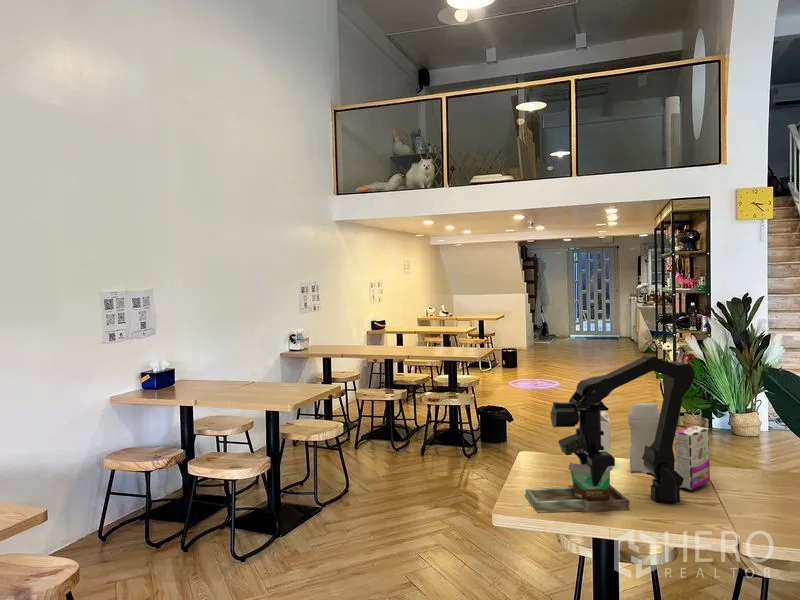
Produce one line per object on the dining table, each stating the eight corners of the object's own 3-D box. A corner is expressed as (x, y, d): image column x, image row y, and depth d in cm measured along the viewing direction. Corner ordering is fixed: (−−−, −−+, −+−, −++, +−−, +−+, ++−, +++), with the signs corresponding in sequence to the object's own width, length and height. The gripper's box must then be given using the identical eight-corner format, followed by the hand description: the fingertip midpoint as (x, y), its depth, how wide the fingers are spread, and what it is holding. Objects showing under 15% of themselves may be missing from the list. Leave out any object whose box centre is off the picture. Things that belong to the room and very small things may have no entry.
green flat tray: (609, 492, 167) (609, 483, 167) (629, 510, 154) (629, 500, 154) (524, 496, 166) (524, 487, 165) (537, 514, 153) (537, 505, 152)
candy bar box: (693, 477, 177) (693, 424, 177) (710, 482, 173) (710, 428, 173) (674, 486, 171) (674, 431, 170) (691, 490, 167) (691, 434, 166)
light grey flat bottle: (659, 468, 186) (659, 401, 185) (665, 472, 182) (664, 403, 181) (626, 468, 187) (625, 401, 186) (631, 473, 183) (630, 404, 182)
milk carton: (587, 466, 190) (587, 409, 189) (587, 460, 197) (587, 404, 196) (610, 468, 188) (610, 410, 187) (610, 461, 194) (609, 405, 194)
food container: (578, 504, 155) (576, 465, 156) (570, 499, 161) (567, 462, 162) (622, 501, 156) (619, 463, 157) (612, 496, 162) (609, 460, 163)
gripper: (550, 419, 168) (551, 472, 169) (573, 436, 149) (574, 495, 150) (588, 417, 169) (588, 470, 169) (615, 434, 150) (616, 493, 151)
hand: (590, 481), depth 160 cm, fingers closed on food container, 6 cm apart
